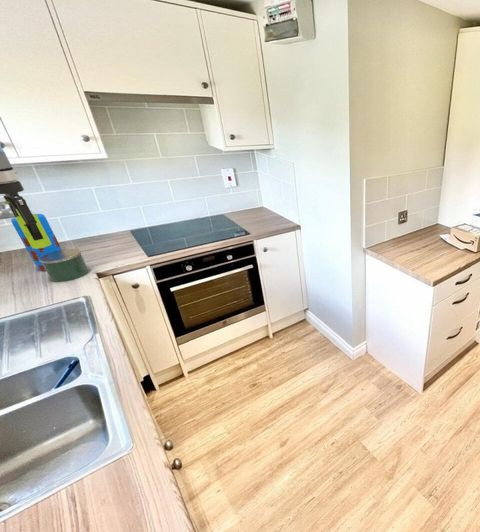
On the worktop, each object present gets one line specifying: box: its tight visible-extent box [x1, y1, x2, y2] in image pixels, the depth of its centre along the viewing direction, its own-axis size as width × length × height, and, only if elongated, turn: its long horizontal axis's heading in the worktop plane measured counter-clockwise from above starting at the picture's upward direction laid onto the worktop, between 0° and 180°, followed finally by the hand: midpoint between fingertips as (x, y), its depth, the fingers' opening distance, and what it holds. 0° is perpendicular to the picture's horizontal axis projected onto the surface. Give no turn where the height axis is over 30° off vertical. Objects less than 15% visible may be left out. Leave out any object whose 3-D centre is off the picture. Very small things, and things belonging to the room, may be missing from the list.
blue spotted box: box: [10, 213, 63, 272], centre depth 152 cm, size 11×11×25 cm
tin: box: [39, 248, 90, 283], centre depth 148 cm, size 14×14×10 cm
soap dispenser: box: [2, 200, 52, 249], centre depth 130 cm, size 6×7×20 cm
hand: (35, 237), depth 133 cm, fingers closed on soap dispenser, 6 cm apart
